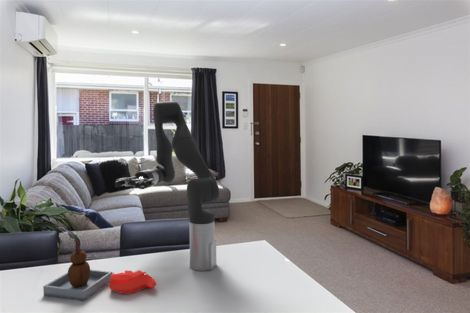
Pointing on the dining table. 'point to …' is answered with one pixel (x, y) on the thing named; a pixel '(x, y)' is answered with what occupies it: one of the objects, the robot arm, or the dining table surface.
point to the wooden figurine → (78, 268)
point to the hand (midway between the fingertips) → (125, 184)
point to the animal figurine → (131, 282)
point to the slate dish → (67, 291)
